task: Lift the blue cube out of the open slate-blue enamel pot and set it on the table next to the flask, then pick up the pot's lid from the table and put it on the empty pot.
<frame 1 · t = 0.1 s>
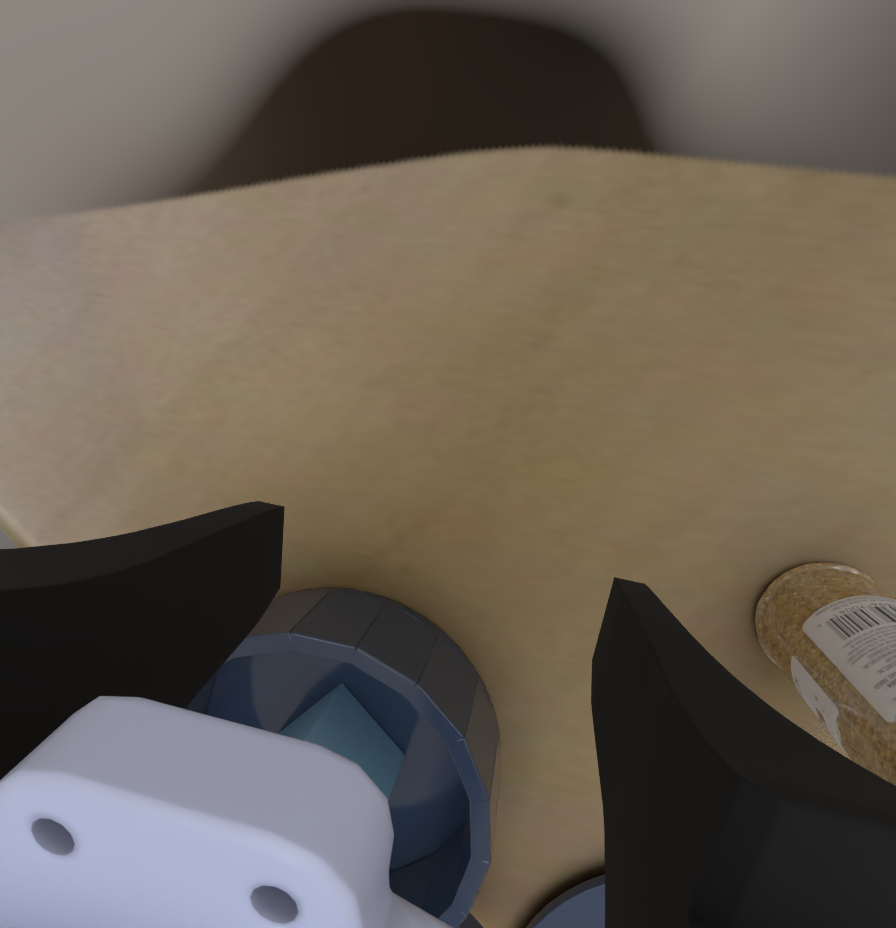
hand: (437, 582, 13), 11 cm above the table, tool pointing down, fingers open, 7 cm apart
blue cube: (340, 744, 25), resting on pot
pot: (344, 737, 26), on the table
sprinkles bottle: (817, 615, 22), on the table
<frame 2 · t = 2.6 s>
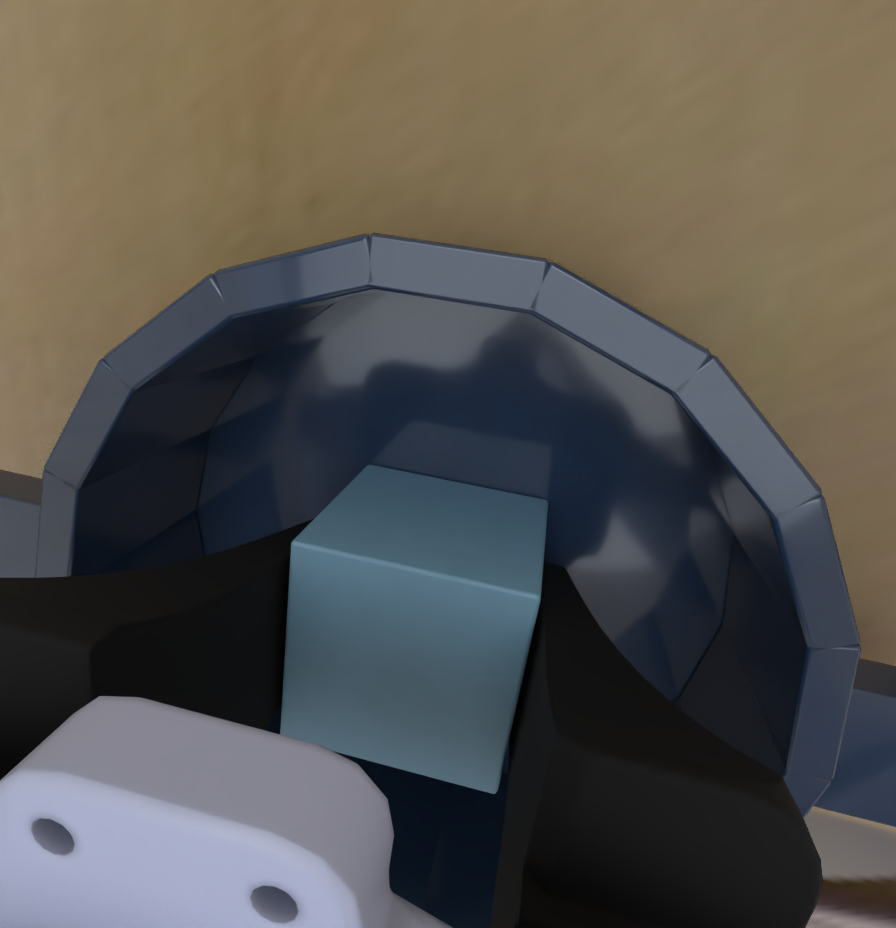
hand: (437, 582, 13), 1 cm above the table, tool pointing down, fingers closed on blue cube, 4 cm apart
blue cube: (443, 562, 14), resting on pot, touching gripper
pot: (448, 552, 14), on the table
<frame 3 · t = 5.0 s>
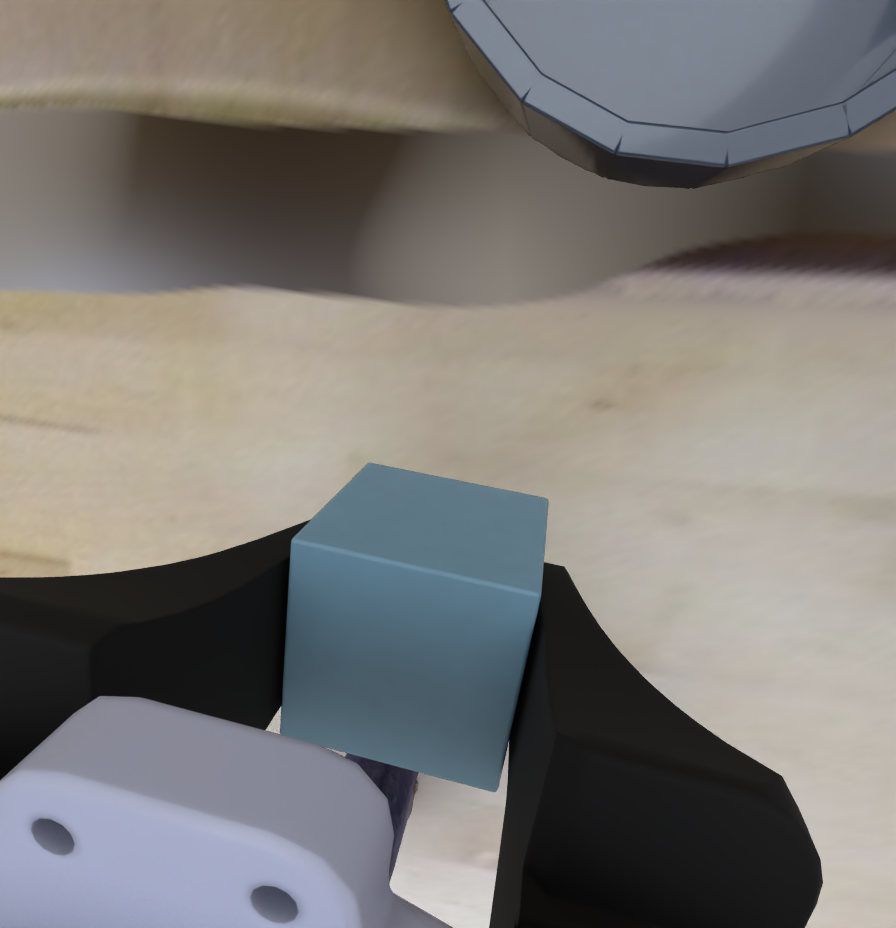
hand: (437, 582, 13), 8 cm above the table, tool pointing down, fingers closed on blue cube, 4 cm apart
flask: (400, 725, 25), on the table
blue cube: (444, 560, 14), point 8 cm above the table, touching gripper
when the fingers open (1 cm above the table, at t = 7.6 s): blue cube stays where it is, on the table.
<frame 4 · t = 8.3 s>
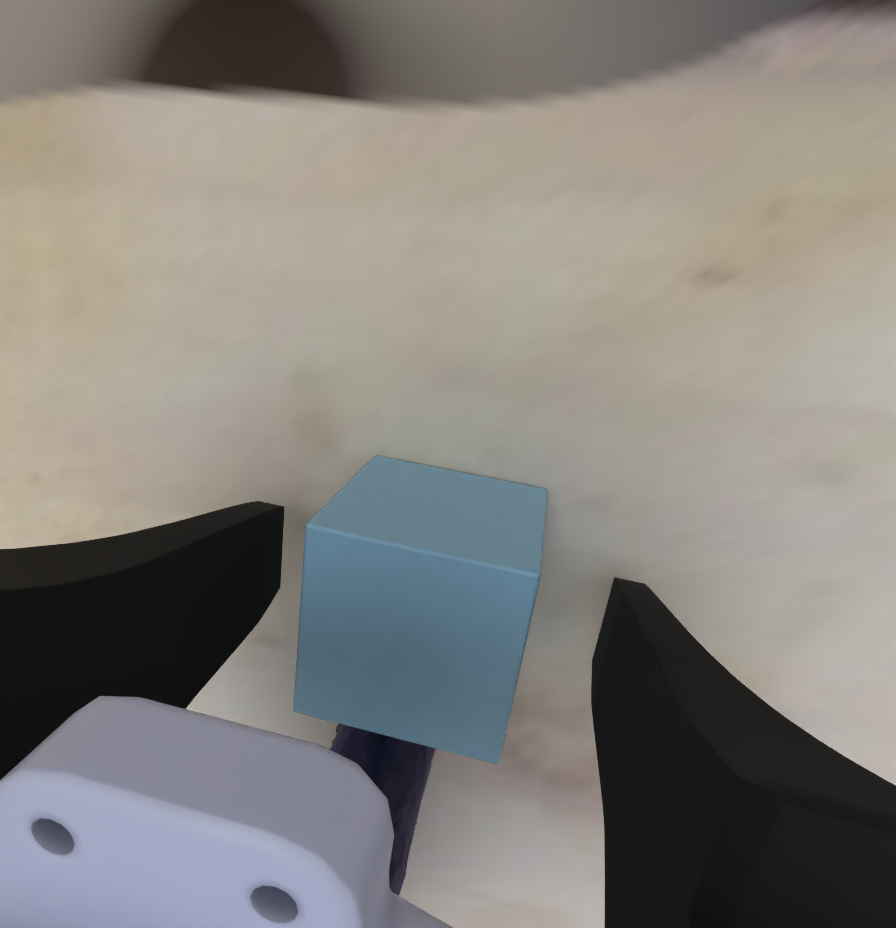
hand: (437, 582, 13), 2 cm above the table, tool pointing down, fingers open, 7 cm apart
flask: (377, 786, 17), on the table
blue cube: (447, 549, 14), on the table
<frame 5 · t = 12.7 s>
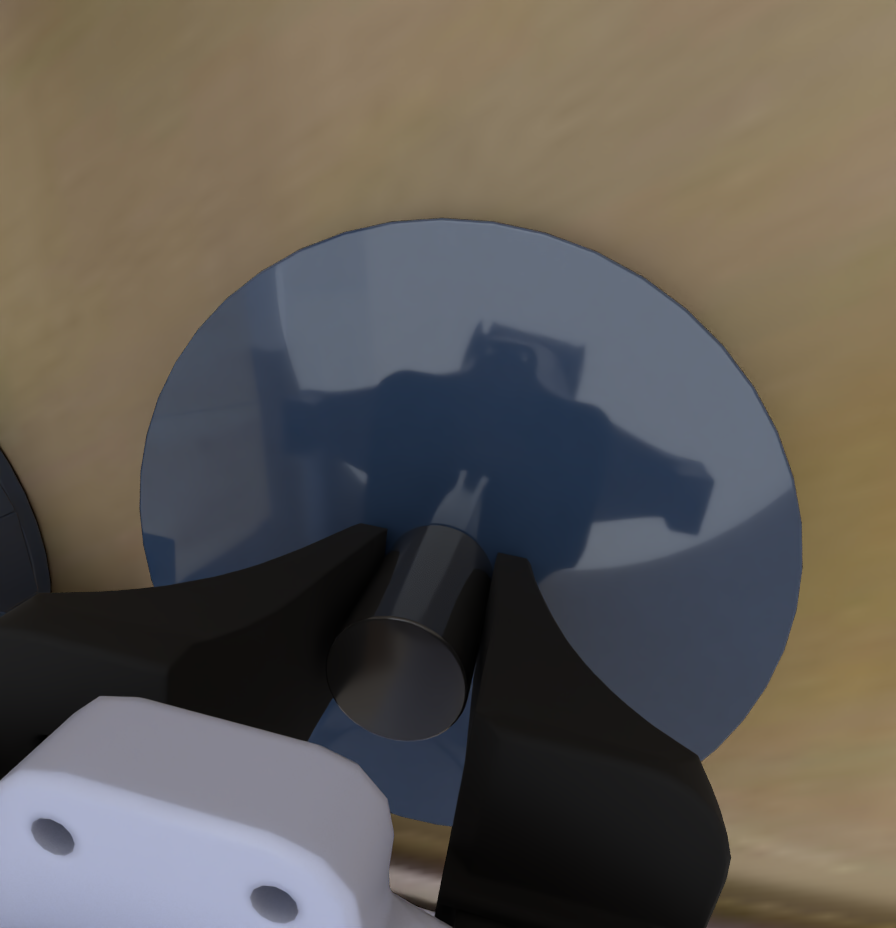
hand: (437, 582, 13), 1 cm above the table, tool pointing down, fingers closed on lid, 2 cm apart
lid: (443, 564, 14), point 1 cm above the table, touching gripper
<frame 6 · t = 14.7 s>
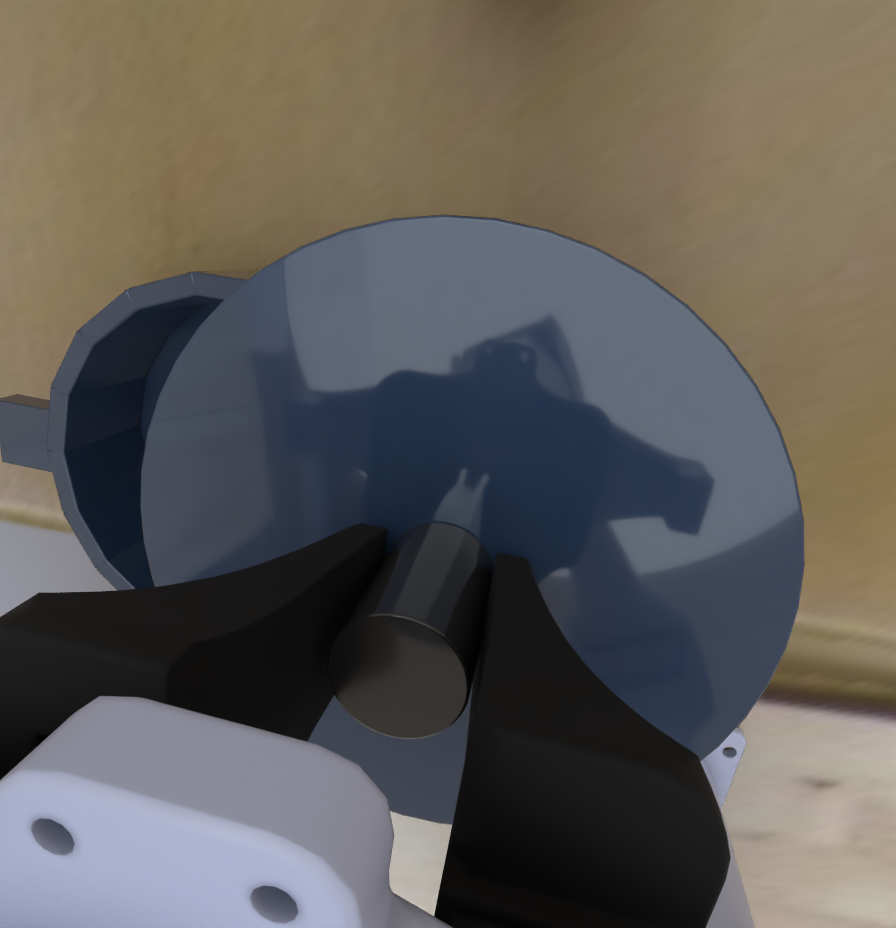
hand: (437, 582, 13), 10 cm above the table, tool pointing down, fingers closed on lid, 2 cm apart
pot: (286, 448, 24), on the table
lid: (444, 562, 14), point 10 cm above the table, touching gripper
when the fingers open (5 cm above the table, at t = 17.0 s): lid stays where it is, resting on pot.
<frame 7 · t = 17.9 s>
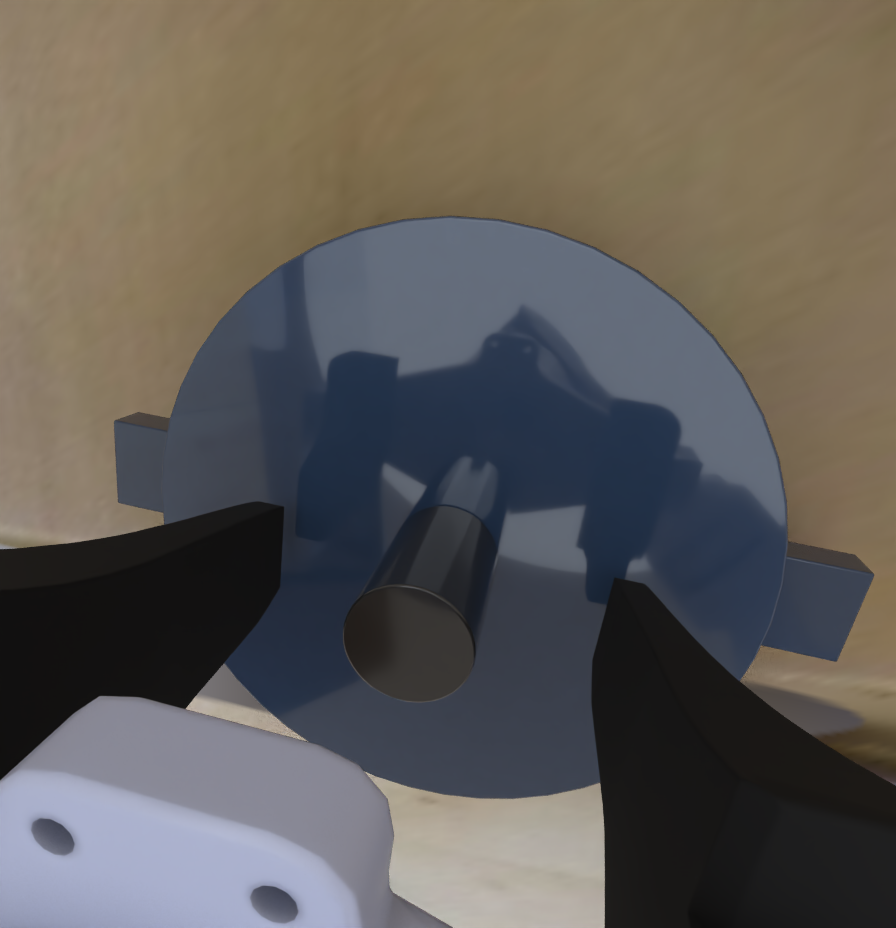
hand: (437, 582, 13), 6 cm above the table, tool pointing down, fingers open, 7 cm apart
pot: (477, 483, 19), on the table
lid: (449, 544, 14), point 4 cm above the table, touching pot
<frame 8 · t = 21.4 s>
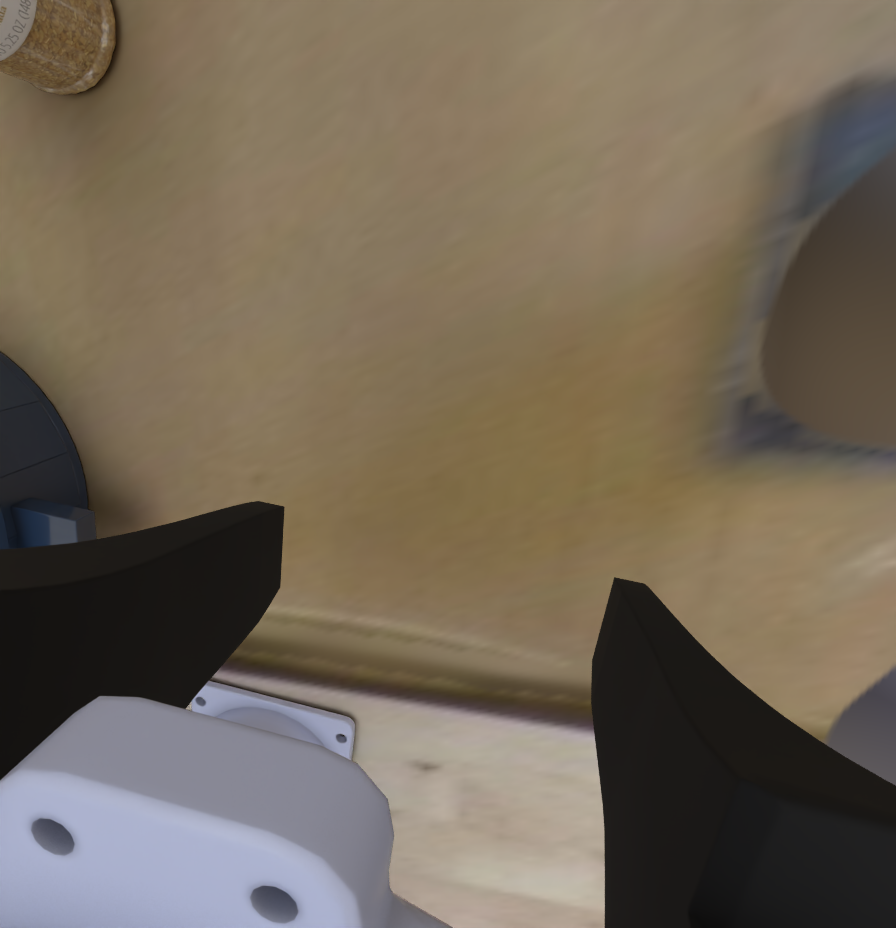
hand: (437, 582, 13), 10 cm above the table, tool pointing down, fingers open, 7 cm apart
sprinkles bottle: (67, 24, 21), on the table
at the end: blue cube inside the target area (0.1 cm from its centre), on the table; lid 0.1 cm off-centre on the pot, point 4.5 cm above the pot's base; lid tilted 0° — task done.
